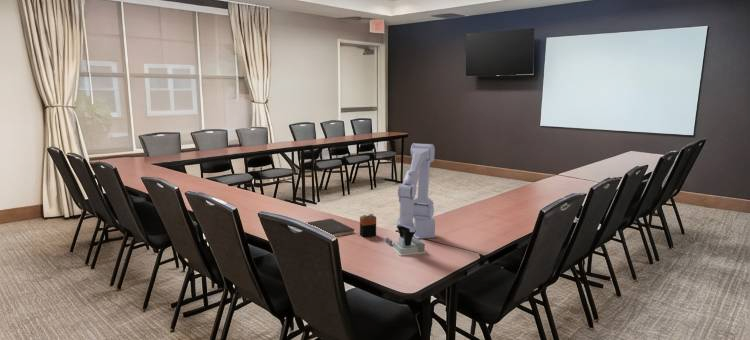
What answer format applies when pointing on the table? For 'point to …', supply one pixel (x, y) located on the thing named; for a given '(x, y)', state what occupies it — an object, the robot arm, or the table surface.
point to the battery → (368, 225)
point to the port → (410, 248)
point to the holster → (389, 241)
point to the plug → (402, 242)
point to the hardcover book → (332, 227)
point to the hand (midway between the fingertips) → (405, 243)
